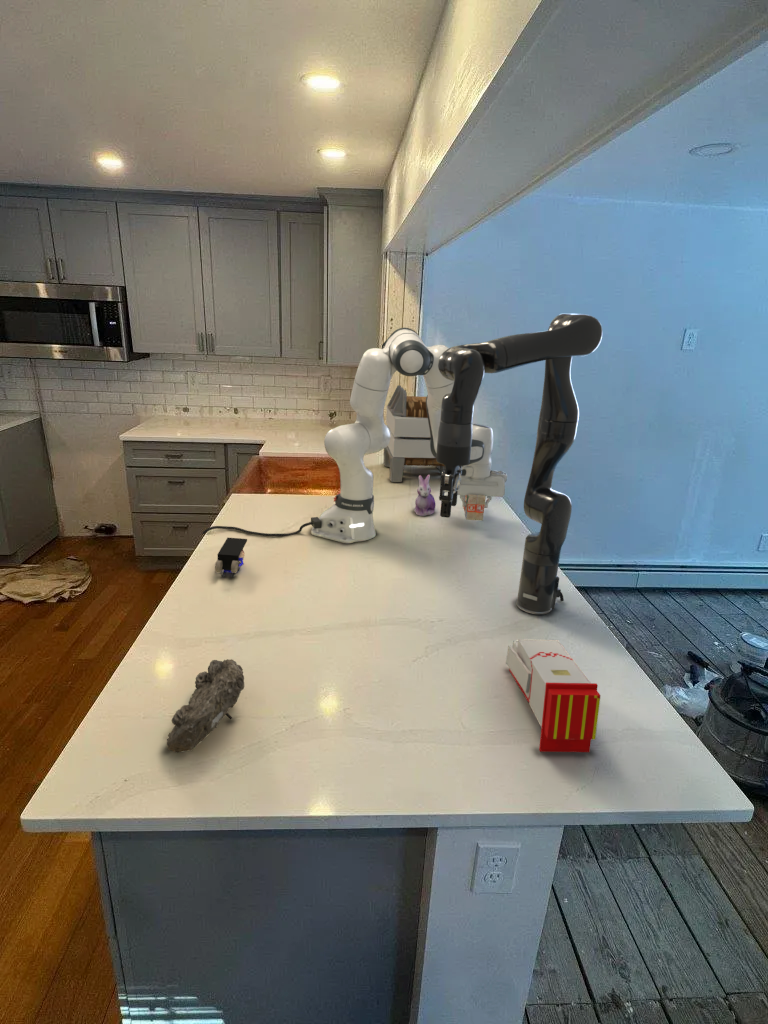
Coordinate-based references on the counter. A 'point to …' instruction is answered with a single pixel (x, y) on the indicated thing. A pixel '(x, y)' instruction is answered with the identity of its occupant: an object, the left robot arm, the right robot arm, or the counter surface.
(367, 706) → the counter surface
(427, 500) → the figurine
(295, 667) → the counter surface
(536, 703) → the toy
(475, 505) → the stack of blocks
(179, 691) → the counter surface
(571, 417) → the right robot arm
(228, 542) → the figurine character
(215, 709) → the fossil
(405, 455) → the grey slatted crate
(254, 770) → the counter surface
